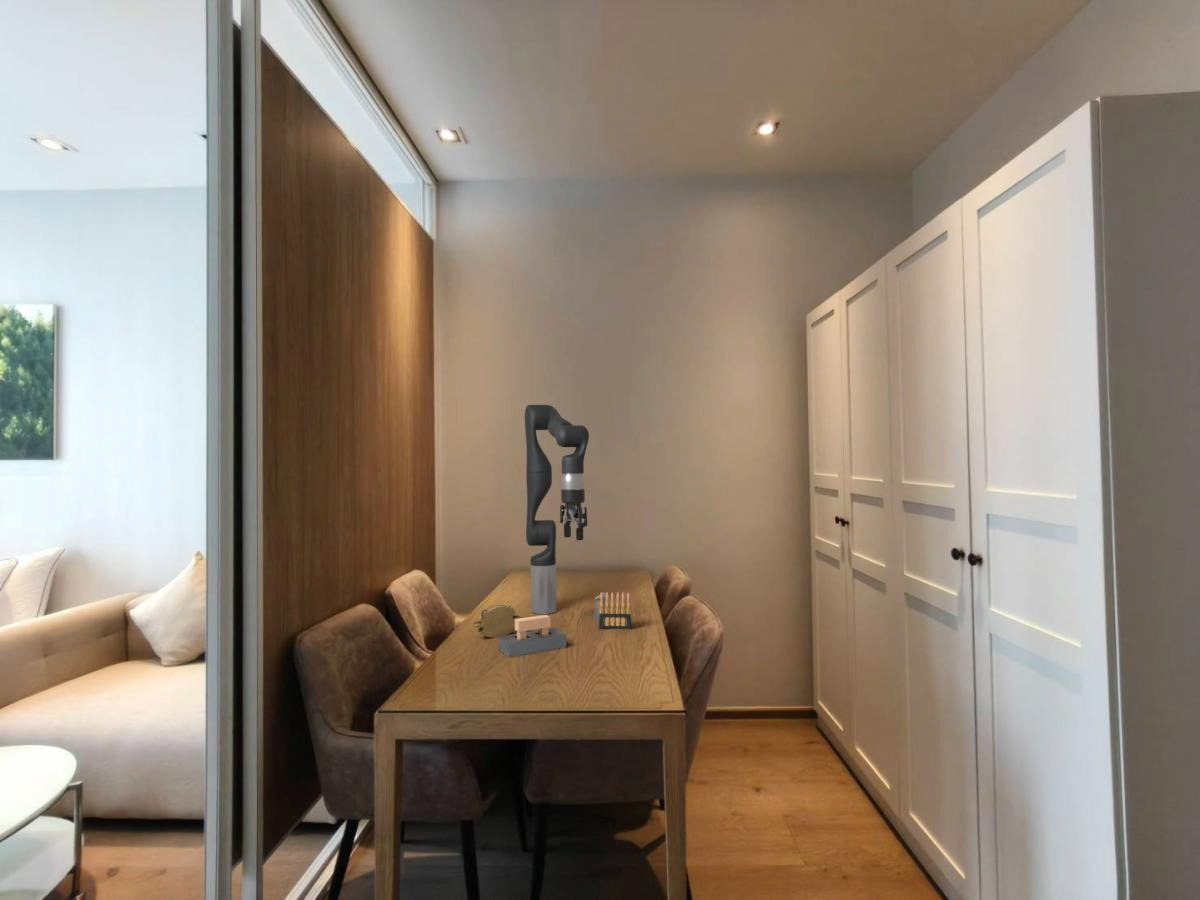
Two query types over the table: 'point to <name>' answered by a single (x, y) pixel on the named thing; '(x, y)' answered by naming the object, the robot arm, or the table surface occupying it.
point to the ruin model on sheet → (596, 606)
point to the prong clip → (532, 625)
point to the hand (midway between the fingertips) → (573, 538)
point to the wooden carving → (497, 621)
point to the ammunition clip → (621, 613)
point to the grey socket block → (532, 642)
